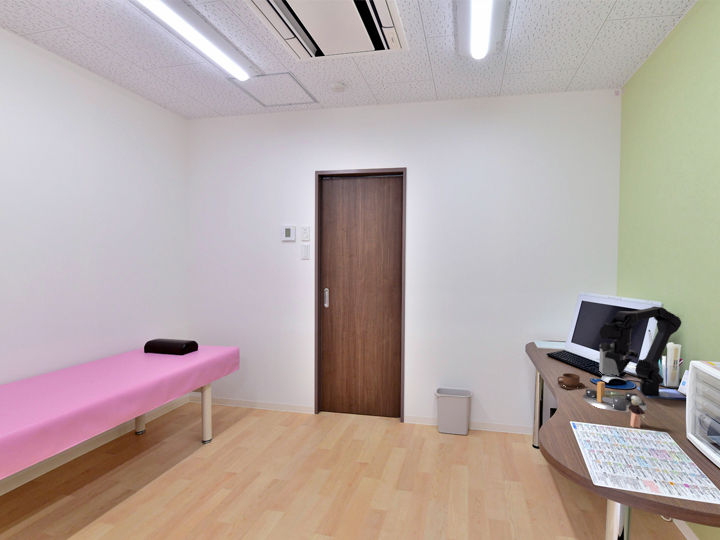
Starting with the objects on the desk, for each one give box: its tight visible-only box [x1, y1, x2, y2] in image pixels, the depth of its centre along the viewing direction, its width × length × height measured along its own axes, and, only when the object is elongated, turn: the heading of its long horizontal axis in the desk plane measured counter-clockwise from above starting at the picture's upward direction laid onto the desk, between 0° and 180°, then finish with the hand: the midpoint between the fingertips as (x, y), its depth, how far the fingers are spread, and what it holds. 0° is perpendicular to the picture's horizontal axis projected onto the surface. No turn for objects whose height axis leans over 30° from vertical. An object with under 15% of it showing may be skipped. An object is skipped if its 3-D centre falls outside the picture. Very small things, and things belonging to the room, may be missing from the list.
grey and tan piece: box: [596, 381, 627, 410], centre depth 170 cm, size 12×5×8 cm, turn 21°
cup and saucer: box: [557, 372, 586, 391], centre depth 197 cm, size 12×12×6 cm
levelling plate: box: [582, 388, 648, 413], centre depth 175 cm, size 24×24×5 cm
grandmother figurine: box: [627, 395, 647, 429], centre depth 150 cm, size 8×4×13 cm, turn 21°
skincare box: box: [598, 348, 620, 377], centre depth 215 cm, size 8×7×16 cm
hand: (620, 373), depth 182 cm, fingers closed
